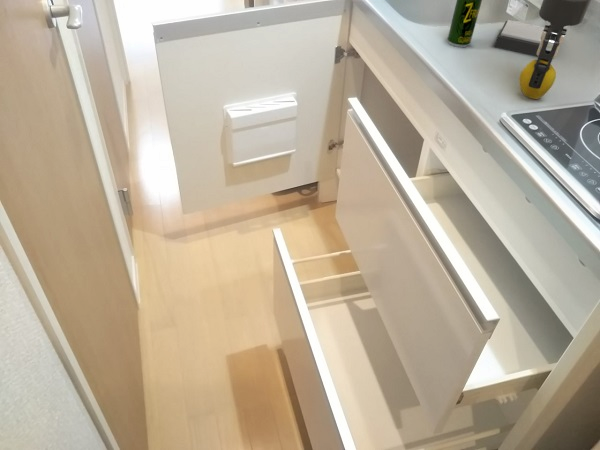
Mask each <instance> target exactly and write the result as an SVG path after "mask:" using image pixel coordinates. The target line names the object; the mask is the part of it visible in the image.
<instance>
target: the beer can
mask: <svg viewBox="0 0 600 450" xmlns="http://www.w3.org/2000/svg"><path fill="white" fill-rule="evenodd" d="M455 2H456V3H455V6H454V11H453V14H452V19H451V23H450V27H449V32H448V34H447V35H448V36H447V43H448V44H449V45H450V46H452V47H456V48H467V47H469V45H470V44H471V43H472V39H473V35H474V31H475V28H476V24H477V21H478V17H479V13H480V10H481V6H482V2H483V0H456V1H455Z"/></svg>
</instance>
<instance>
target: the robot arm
mask: <svg viewBox="0 0 600 450" xmlns="http://www.w3.org/2000/svg"><path fill="white" fill-rule="evenodd" d="M591 1H592V0H542V2H541V5H540V8H539V12H538V15H539V17H540V19H542V20H543V21H545V22H548V23H549V24H544V26H543V27H544V30H543V33H542V35H541V42H540V45H539V48H538V50H537V56H536V57H537V58H536V60H537V61H536V64H534V71H533V74H532V76H531V79H530V82H529V87H532V88H536V89H539V88H540V87H541V84H542V82H543V79H544V77H545V74H546V72H548V70H549V69H550V64H551V65H552V62H553V60H554V59H556V58H557V55H558V52H559V50H560V47H561V45H562V44H563V42H564V41H565V38H566V36H567V32H568V28H565V27H567V26H568V27H569V26H570V27H573V26H578V25H579V24H582V23H583V21H584V18H585V16H586V14H587V11H588V9H589V6H590V4H591ZM540 60H542V61H545V62H548V63H547V64H544V63H540V62H539V61H540Z"/></svg>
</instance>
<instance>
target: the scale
mask: <svg viewBox="0 0 600 450" xmlns="http://www.w3.org/2000/svg"><path fill="white" fill-rule="evenodd" d="M544 27H545V26H539V25H536V24H535V25H534V24H530V23H525V22H519V21H516V20H515V21H514V20H511V19H508V20H505V21H504V24H503V26H502V27H501V28H500V29H501V30H500V32H499V33H498V35H497V37H496V41H495V43H494V47H495V48H499V49H502V50H506V51H507V50H508V51H512V52H516V53H520V54H525V55H529V56H534V57H538V56H537V50H538V48H539V45H540V42H541V35H542V33H543V30H544Z"/></svg>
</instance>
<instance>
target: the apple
mask: <svg viewBox="0 0 600 450" xmlns="http://www.w3.org/2000/svg"><path fill="white" fill-rule="evenodd" d="M536 61H537V59H533V60H531V61H530V62H528V63H527V65H526V66H524V67H523V69H522V70H521V72H520V74H519V78H518V80H519V87H520V91H521V93H523V95H524V96H525V97H527V98H530V99H533V100H538V99H540V98H542V97H543V96H544V95H545V94H547V92H549V90H550V89H551V88H552V87H553V85H554V83H555V80H556V77H557V72H556V69H555V67H554V65H552V63H551V64H550V69H549V70H548V72H546V74H545V77H544V79H543V82H542V84H541V87H540V88H539V89H536V88H532V87H529V82H530V79H531V76H532V74H533V71H534V64H536ZM539 62H540V63H544V64H547V63H548V62H545V61H542V60H540V61H539Z"/></svg>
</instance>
